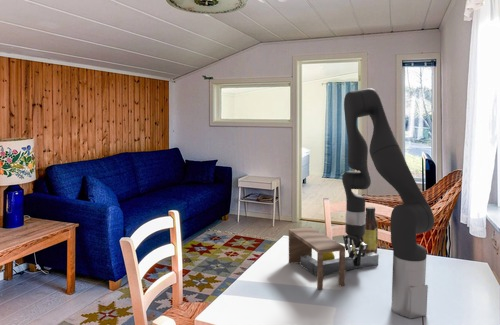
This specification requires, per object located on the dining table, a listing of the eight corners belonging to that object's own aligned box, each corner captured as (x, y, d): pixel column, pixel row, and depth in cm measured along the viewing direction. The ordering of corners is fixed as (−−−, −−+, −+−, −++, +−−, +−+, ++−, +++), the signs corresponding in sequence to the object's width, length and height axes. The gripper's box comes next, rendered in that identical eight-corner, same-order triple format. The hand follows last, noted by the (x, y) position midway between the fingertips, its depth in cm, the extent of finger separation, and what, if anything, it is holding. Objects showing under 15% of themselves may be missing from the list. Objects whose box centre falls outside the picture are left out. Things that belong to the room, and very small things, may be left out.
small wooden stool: (344, 285, 131) (345, 246, 130) (319, 289, 128) (319, 250, 127) (310, 259, 156) (310, 226, 154) (288, 262, 153) (288, 229, 151)
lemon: (313, 256, 150) (325, 267, 152) (323, 255, 146) (336, 267, 148) (317, 245, 153) (329, 256, 155) (327, 243, 149) (339, 255, 151)
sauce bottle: (379, 254, 161) (380, 209, 159) (364, 254, 162) (365, 209, 159) (374, 249, 168) (375, 205, 166) (360, 249, 168) (361, 205, 166)
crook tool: (378, 264, 150) (378, 254, 150) (316, 276, 139) (316, 265, 139) (358, 254, 161) (359, 245, 161) (300, 265, 150) (300, 255, 149)
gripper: (337, 218, 151) (336, 259, 153) (357, 227, 138) (356, 272, 140) (353, 216, 153) (352, 256, 155) (374, 225, 140) (373, 269, 142)
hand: (354, 264), depth 147 cm, fingers closed on crook tool, 3 cm apart
